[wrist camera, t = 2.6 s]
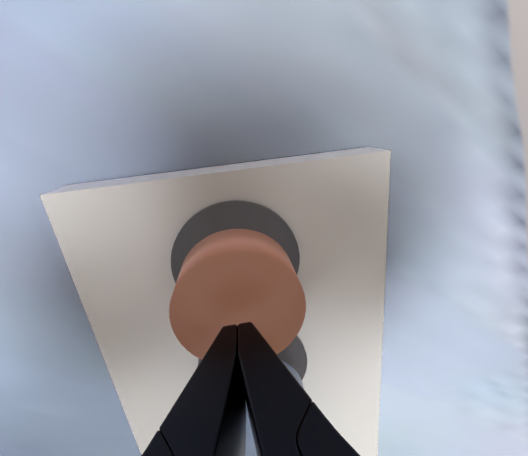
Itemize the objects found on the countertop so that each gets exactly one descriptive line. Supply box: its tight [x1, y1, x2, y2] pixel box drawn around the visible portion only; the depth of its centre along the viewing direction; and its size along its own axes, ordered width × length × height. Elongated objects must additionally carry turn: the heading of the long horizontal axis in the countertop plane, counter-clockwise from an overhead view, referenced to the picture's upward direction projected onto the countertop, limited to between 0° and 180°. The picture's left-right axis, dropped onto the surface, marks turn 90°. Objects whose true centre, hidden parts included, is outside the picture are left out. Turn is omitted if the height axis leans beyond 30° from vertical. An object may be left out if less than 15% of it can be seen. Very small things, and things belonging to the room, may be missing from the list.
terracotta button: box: [169, 229, 306, 360], centre depth 10 cm, size 4×4×2 cm
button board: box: [40, 147, 391, 456], centre depth 16 cm, size 20×14×2 cm
